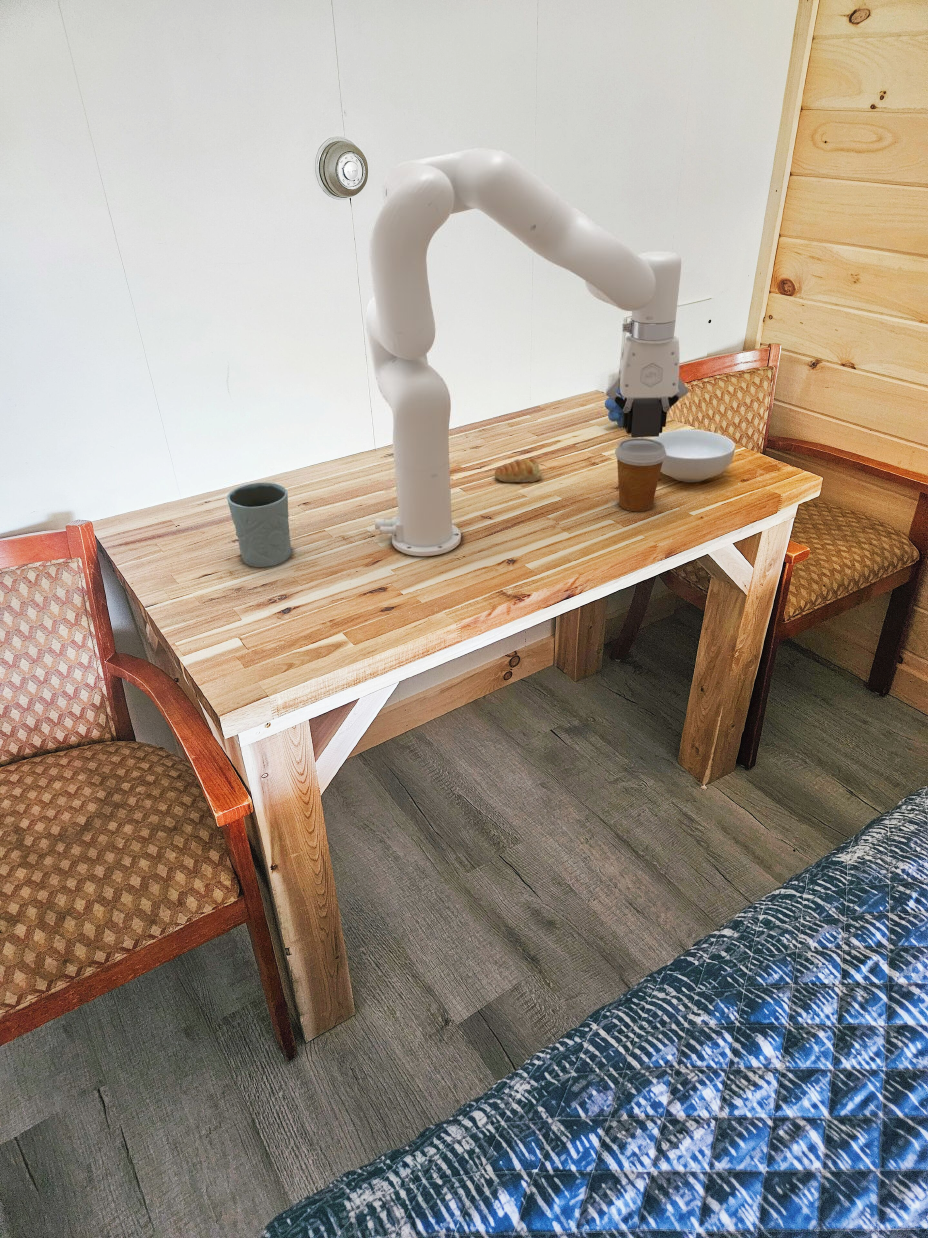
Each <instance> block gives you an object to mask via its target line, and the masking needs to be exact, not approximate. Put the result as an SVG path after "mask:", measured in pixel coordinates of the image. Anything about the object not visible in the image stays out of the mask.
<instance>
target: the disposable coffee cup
mask: <svg viewBox="0 0 928 1238" xmlns="http://www.w3.org/2000/svg"><path fill="white" fill-rule="evenodd" d="M666 454H667V453H666V451H665V447H664V445H663V444H662V443H661V442H659V441H656V440H653V439H652V438H649V437H631V438H626V439H623V440H621V441H619V443H618V444H617V447H616V448H615V450H614V455H615V458H616V461H617V463H616V464H617V485H618V503H619V507H621V508H622V509H624V510H627V511H629V512H630V511H631V512H645V511H648V510H650V509H651V508H653V504H654V499H655V496H656V491H657V487H658V483H659V479H660V474H661V472H660V471H661V467H662V463H663V460H664V458H665V457H666Z"/></svg>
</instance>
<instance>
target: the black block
mask: <svg viewBox="0 0 928 1238" xmlns="http://www.w3.org/2000/svg"><path fill="white" fill-rule="evenodd" d="M631 411H632V426H631V433H630V434H629V435H630V436H631V438H653V437H659V434H660V433H659V432H660V422H661V412H662V403H661V402H660V400H659V398H635V399H634V401H633V404H632V406H631Z"/></svg>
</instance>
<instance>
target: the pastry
mask: <svg viewBox="0 0 928 1238" xmlns="http://www.w3.org/2000/svg"><path fill="white" fill-rule="evenodd" d="M541 474H542V473H541V468H540V465H539V462H538V460H537V458H535V457H530V458H519V459H518V458H517V459H514V460H513V461H511V462H508V463H504V464H502V465H501V466H498V467H497V468H495V471H494V477H495V478H496V479H497V480H499V481H501V482H503V483H514V484H515V483H527V482H530V483H534V482H537V481H539V480H540V479H541V478H542V477H541V476H542V475H541Z"/></svg>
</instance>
